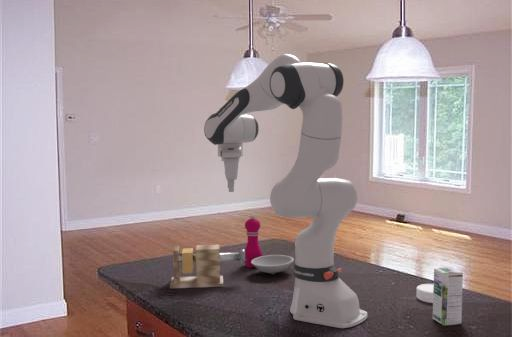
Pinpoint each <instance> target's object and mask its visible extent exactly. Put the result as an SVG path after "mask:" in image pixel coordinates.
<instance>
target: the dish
mask: <svg viewBox="0 0 512 337" xmlns="http://www.w3.org/2000/svg"><path fill="white" fill-rule="evenodd" d="M294 259H295V258H294V257H292V256H289V255H285V254H268V255H262V256H261V257H257V258H255V259H253V260H252V261H251V263H252V264H253V265H254V266H255V268H257V270H258V271H260V272H263V273H266V274H270V275H275V274H277V273H280V272H282V271H284V270H286V269H287V268H288V267H289V266H290V265H291V264H292V263H293V262H295V260H294Z"/></svg>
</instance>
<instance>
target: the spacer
mask: <svg viewBox="0 0 512 337" xmlns="http://www.w3.org/2000/svg"><path fill="white" fill-rule="evenodd" d="M181 254H182V262H181V265H182V266H181V270H182V274H193V273H194V263H195V262H193V254H194V248H193V247H189V248H187V247H186V248H182V252H181Z"/></svg>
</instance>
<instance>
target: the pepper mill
mask: <svg viewBox="0 0 512 337" xmlns="http://www.w3.org/2000/svg"><path fill="white" fill-rule="evenodd" d="M249 217H250V218H248V219H247V220H246V221H245V223H244V228H245V229H246V230H245V231H246V236H247V242H246V246H245V247H244V249H245V263H244V267H246V266H247V268H251V267H255V266H254V265H253V264H252V263H251V261H252V260H253V259H255V258H257V257H261V256H263V251H262V248H261V246H260V243H259V235H260V231H259V230H260V229H261V223H260V222H261V221H259V219H257V218H255V217H256V216H255V215H254V214H251V215H250V216H249ZM255 268H256V267H255Z"/></svg>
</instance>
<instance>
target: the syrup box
mask: <svg viewBox="0 0 512 337" xmlns="http://www.w3.org/2000/svg"><path fill="white" fill-rule="evenodd" d="M463 274H464V272H463V271H459V270H457V269H454V268H453V267H446V266H445V267H444V266H443V267H442V266H441V267H437V268H435V267H434V269H433V284H434V289H433V303H432V320H434V321H436V322H438V323H439V324H441V325H442V326H444V327H445V326H446V327H447V326H456V325H461V324H462V321H463V320H462V318H463V317H462V316H463V313H462V312H463V280H464V279H463V278H464V275H463Z"/></svg>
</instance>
